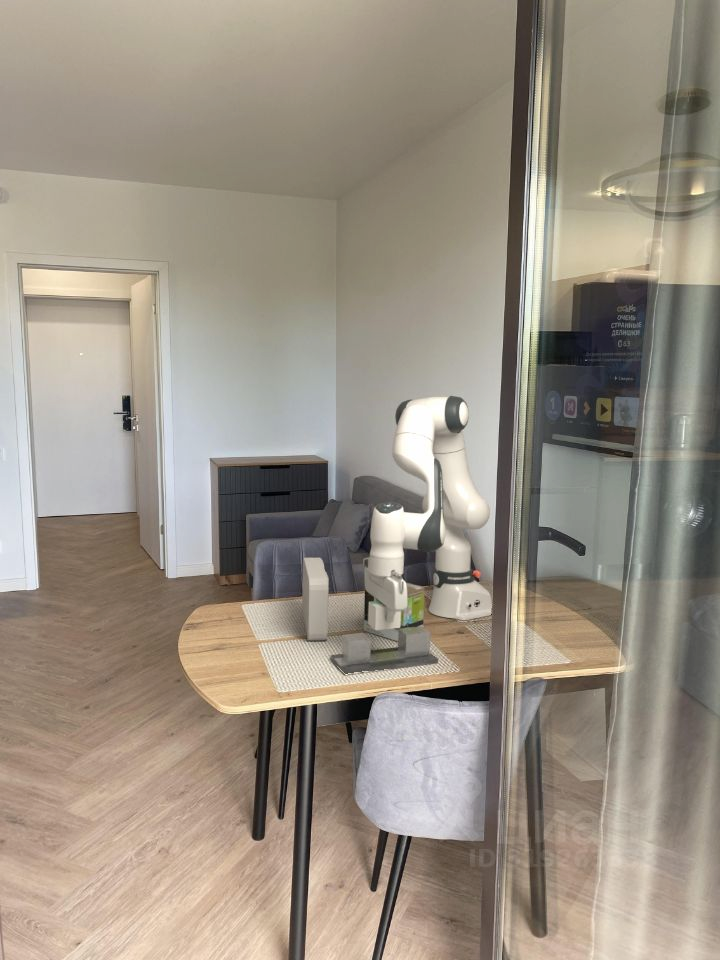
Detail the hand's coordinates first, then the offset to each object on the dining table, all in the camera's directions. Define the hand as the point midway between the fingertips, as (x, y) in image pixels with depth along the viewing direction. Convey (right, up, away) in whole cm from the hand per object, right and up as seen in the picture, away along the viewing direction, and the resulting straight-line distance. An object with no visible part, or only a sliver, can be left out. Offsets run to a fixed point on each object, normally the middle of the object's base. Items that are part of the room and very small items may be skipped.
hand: (384, 618), depth 191 cm
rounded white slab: (-20, -8, +28) cm, 35 cm away
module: (0, -2, 0) cm, 2 cm away
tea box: (+3, -9, +23) cm, 25 cm away
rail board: (0, -12, +2) cm, 12 cm away
